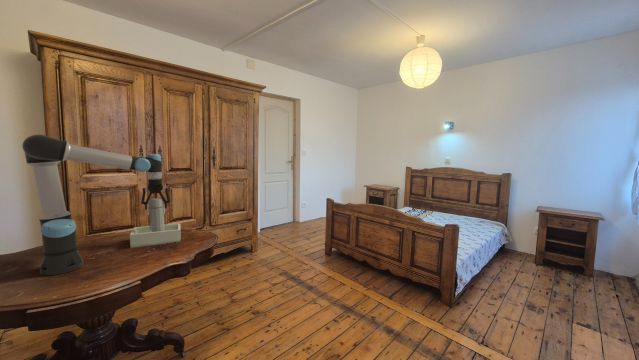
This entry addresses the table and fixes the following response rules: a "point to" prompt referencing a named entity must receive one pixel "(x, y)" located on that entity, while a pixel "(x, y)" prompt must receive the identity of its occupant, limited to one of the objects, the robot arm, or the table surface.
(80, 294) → the table surface
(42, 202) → the robot arm
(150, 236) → the pale green storage bin
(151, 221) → the water bottle
